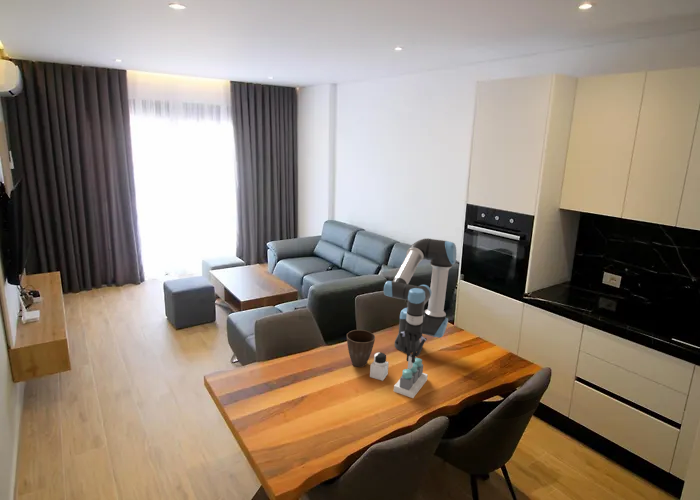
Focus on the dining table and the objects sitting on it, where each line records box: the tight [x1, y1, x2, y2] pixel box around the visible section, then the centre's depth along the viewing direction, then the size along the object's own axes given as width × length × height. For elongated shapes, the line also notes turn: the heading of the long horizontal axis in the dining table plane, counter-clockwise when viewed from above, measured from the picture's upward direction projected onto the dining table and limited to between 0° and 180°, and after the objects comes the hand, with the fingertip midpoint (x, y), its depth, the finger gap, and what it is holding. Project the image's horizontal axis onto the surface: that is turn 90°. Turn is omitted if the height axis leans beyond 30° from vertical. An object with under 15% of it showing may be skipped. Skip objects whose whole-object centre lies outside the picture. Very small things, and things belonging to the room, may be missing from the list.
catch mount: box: [393, 363, 429, 399], centre depth 210 cm, size 10×19×8 cm, turn 150°
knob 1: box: [401, 368, 412, 379], centre depth 204 cm, size 5×5×8 cm
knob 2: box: [413, 357, 423, 367], centre depth 215 cm, size 5×5×8 cm
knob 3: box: [409, 364, 418, 373], centre depth 209 cm, size 5×5×8 cm
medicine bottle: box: [369, 352, 389, 382], centre depth 217 cm, size 7×7×12 cm
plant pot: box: [346, 329, 376, 368], centre depth 227 cm, size 15×15×16 cm
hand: (410, 367), depth 204 cm, fingers closed
